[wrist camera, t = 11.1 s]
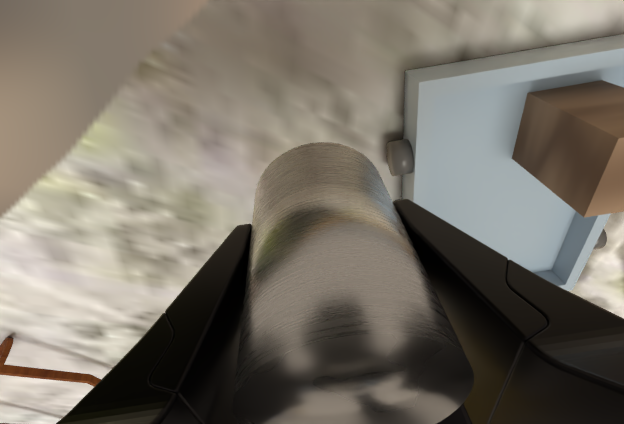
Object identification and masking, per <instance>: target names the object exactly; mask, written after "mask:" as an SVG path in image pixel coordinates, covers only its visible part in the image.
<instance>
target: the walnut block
mask: <svg viewBox="0 0 624 424" xmlns="http://www.w3.org/2000/svg"><path fill="white" fill-rule="evenodd" d="M512 159H513V160H514V161H515V162H517V163H518V164H519V165H520V166H521V167H523V168H524V169H525V170H526V171H528V172H529V173H530V174H531V175H532V176H534V177H535V178H536V179H537V180H539V181H540V182H541V183H542V184H543V185H545V186H546V187H547V188H548V189H550V190H551V191H552V192H553V193H554V194H556V195H557V196H558V197H559V198H561V199H562V200H563V201H564V202H565V203H567V204H568V205H569V206H570V207H572V208H573V209H574V210H575V211H576V212H578V213H579V214H580V215H581V216H583V217H584V218H585V217H591V216H597V215H603V214H610V213H616V212H622V211H624V87H621V86H618V85H615V84H612V83H609V82H606V81H603V80H600V81H594V82H588V83H582V84H576V85H571V86H565V87H559V88H553V89H547V90H541V91H535V92H529V93H527V97H526V101H525V105H524V110H523V114H522V118H521V122H520V126H519V130H518V134H517V139H516V143H515V147H514V151H513V155H512Z"/></svg>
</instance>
